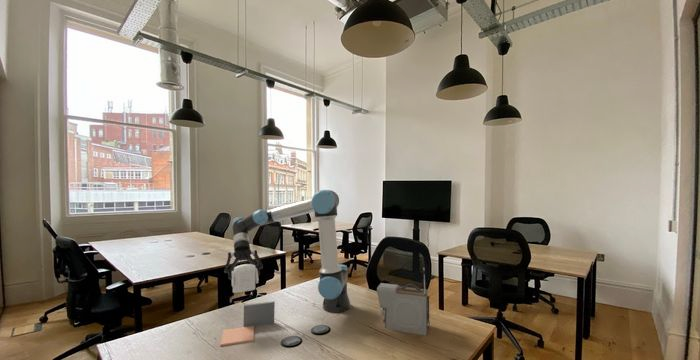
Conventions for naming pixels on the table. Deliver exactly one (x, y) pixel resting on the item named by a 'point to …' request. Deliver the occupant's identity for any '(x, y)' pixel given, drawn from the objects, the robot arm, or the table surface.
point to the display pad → (237, 335)
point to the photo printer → (244, 278)
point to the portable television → (404, 307)
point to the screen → (259, 314)
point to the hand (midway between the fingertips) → (245, 283)
